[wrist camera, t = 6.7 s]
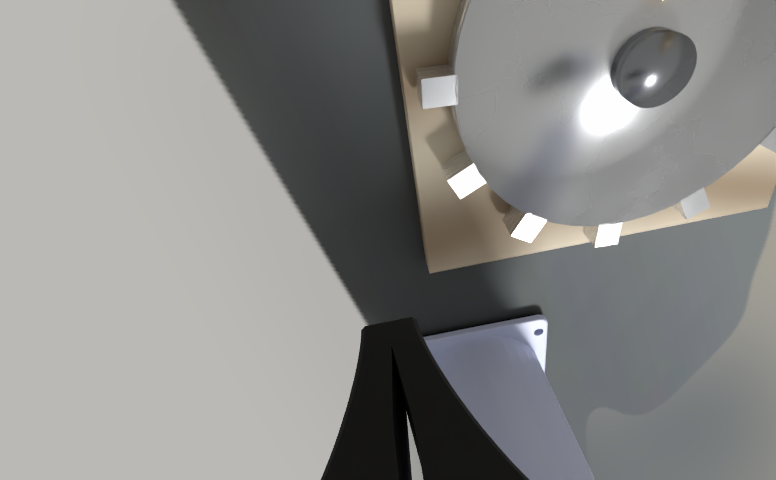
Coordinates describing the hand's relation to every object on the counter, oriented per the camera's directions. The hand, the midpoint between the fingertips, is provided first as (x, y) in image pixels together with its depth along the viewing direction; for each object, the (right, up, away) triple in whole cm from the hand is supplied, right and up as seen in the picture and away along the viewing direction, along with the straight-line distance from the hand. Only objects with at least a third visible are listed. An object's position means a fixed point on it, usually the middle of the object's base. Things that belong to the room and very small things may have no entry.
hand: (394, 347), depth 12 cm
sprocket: (+8, +9, +4) cm, 13 cm away
